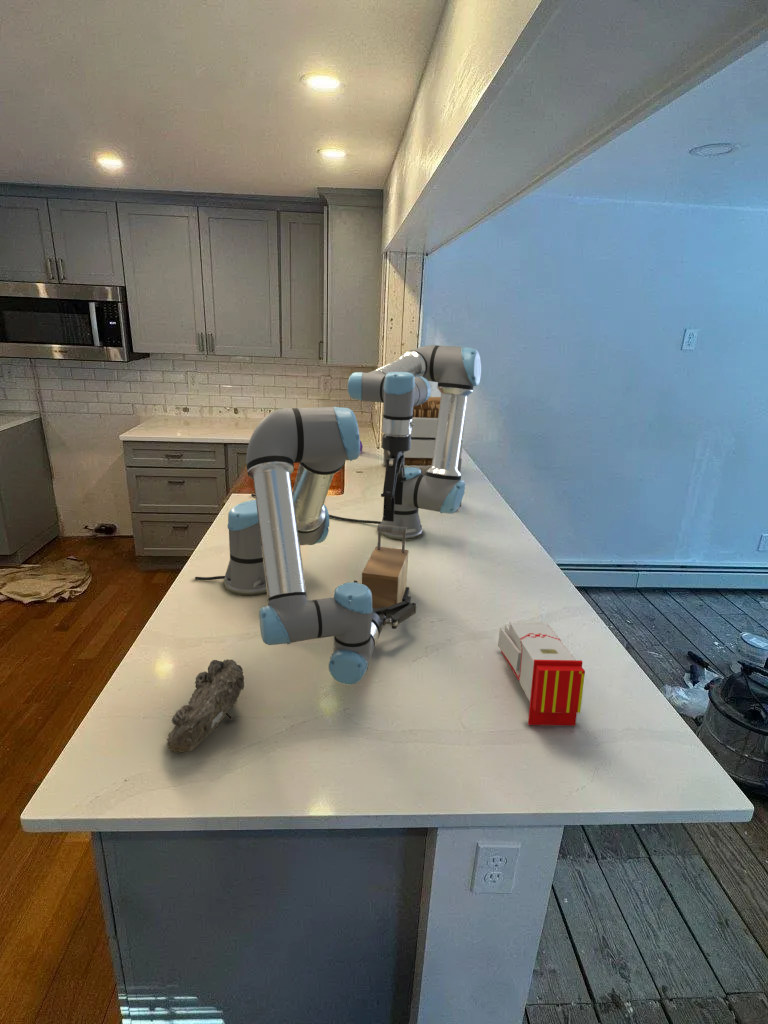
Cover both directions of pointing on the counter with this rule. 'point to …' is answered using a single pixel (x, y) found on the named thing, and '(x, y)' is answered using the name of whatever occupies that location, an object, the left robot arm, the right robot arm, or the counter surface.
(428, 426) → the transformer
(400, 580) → the chest
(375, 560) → the lid
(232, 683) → the fossil
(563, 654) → the toy
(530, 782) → the counter surface
